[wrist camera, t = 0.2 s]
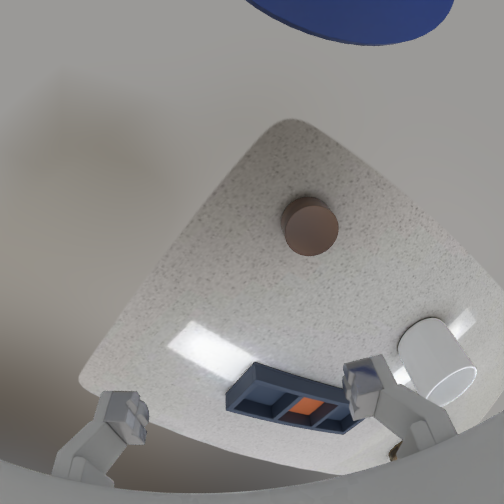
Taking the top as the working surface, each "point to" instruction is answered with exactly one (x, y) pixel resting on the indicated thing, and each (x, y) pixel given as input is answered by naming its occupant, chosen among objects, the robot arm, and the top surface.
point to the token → (309, 226)
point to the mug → (436, 361)
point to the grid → (290, 400)
